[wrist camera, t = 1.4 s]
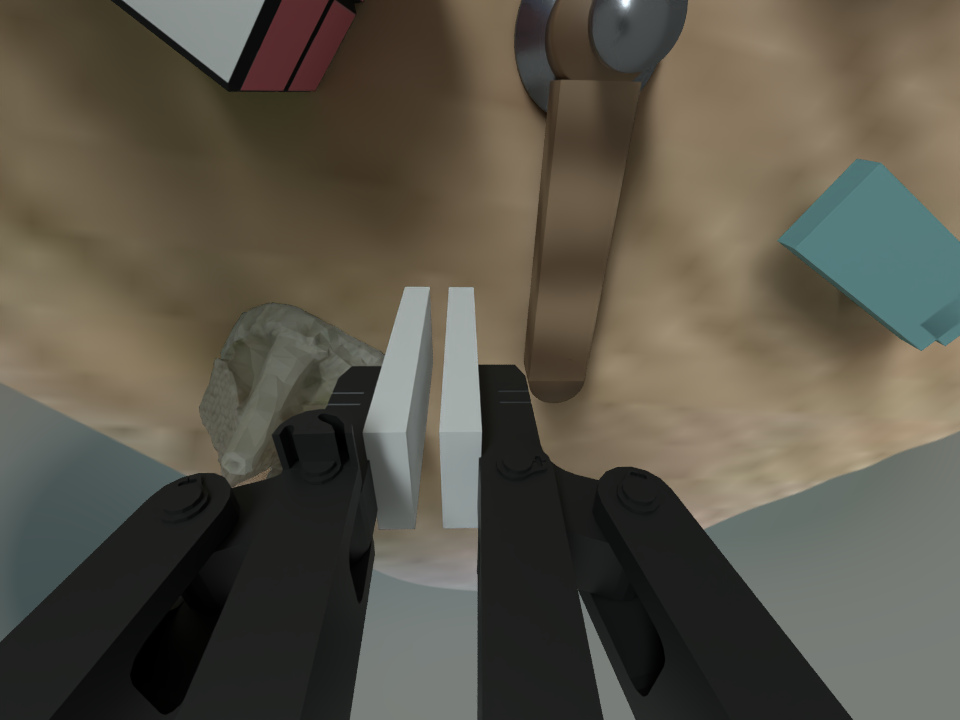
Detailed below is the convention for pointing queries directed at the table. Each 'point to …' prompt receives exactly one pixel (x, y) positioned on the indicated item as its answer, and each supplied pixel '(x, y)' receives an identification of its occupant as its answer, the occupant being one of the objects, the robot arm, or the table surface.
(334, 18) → the puzzle cube
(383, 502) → the robot arm
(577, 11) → the walnut link
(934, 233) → the block
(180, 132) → the table surface
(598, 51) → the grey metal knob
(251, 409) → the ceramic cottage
